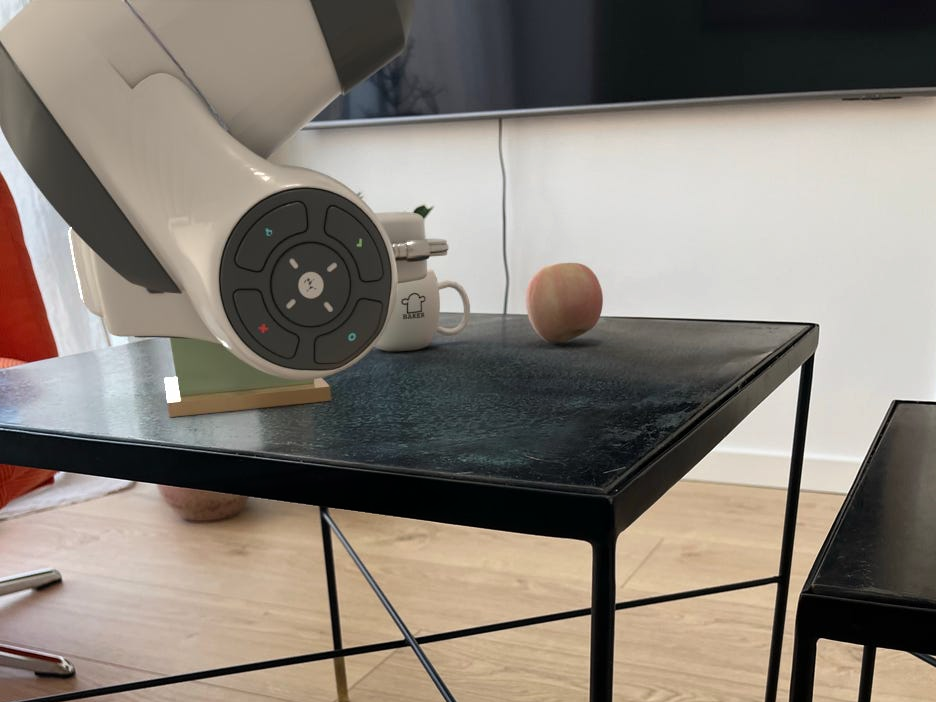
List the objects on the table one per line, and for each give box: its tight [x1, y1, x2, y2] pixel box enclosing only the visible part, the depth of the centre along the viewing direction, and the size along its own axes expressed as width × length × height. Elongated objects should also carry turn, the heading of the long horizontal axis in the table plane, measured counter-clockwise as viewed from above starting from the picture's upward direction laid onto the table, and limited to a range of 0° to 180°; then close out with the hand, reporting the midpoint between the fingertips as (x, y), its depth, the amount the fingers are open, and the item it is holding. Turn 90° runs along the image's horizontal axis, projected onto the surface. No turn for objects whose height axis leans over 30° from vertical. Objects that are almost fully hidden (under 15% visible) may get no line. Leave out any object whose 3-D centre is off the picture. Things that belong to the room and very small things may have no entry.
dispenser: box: [164, 338, 332, 418], centre depth 84 cm, size 13×13×16 cm
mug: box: [374, 267, 471, 352], centre depth 107 cm, size 12×8×8 cm
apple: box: [525, 262, 604, 345], centre depth 105 cm, size 8×8×8 cm
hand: (244, 248), depth 65 cm, fingers closed
